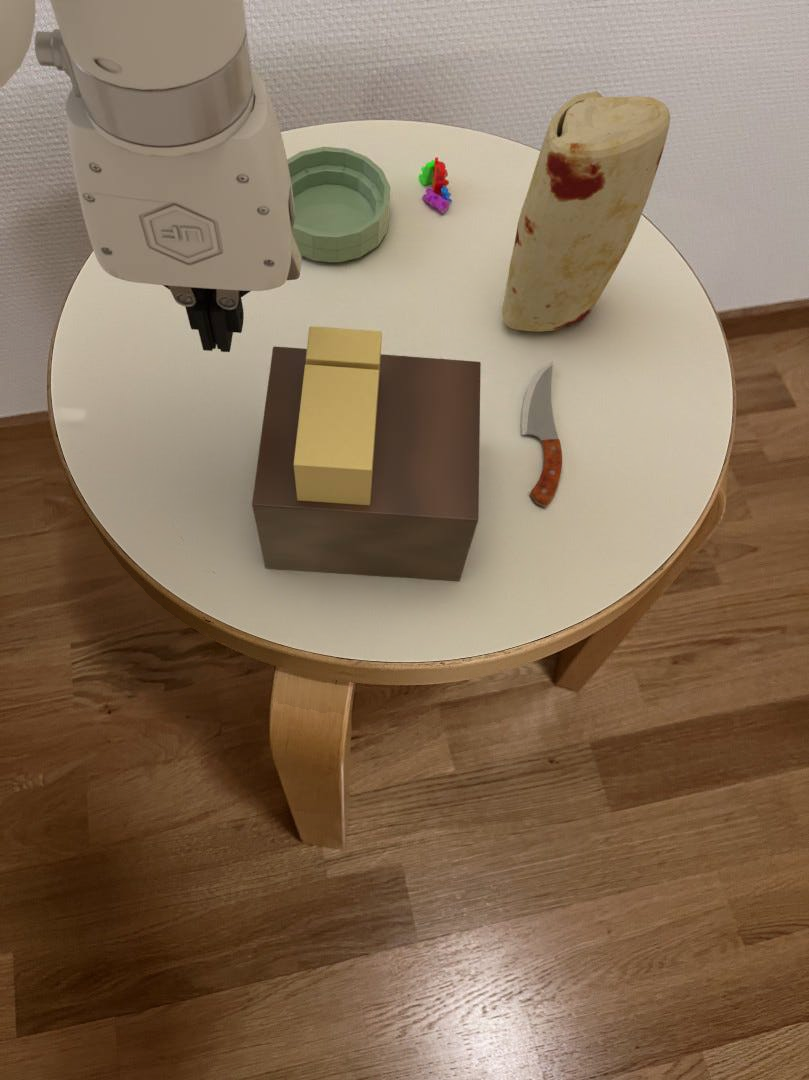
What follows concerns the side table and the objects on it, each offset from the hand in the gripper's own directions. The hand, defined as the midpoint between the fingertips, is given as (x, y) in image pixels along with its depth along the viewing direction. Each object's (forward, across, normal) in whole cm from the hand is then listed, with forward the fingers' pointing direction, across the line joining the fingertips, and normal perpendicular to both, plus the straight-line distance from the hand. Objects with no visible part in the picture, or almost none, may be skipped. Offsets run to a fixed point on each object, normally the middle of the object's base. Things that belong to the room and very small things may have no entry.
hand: (220, 332), depth 56 cm
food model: (+14, +24, +15) cm, 31 cm away
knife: (+14, +23, +3) cm, 27 cm away
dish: (+14, +5, +23) cm, 27 cm away
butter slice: (+4, +8, -1) cm, 9 cm away
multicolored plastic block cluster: (+14, +14, +27) cm, 34 cm away
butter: (+4, +8, -6) cm, 10 cm away
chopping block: (+14, +10, -4) cm, 17 cm away
